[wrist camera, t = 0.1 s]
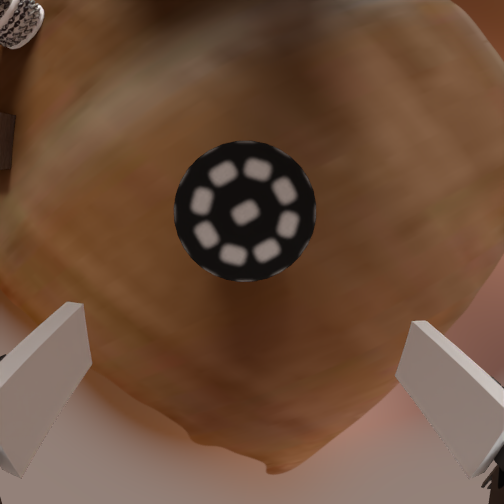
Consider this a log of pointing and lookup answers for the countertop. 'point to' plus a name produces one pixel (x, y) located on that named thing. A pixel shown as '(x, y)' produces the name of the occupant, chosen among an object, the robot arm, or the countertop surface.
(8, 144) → the button housing
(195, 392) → the countertop surface
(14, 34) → the decorative candle
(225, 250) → the spotted tube
